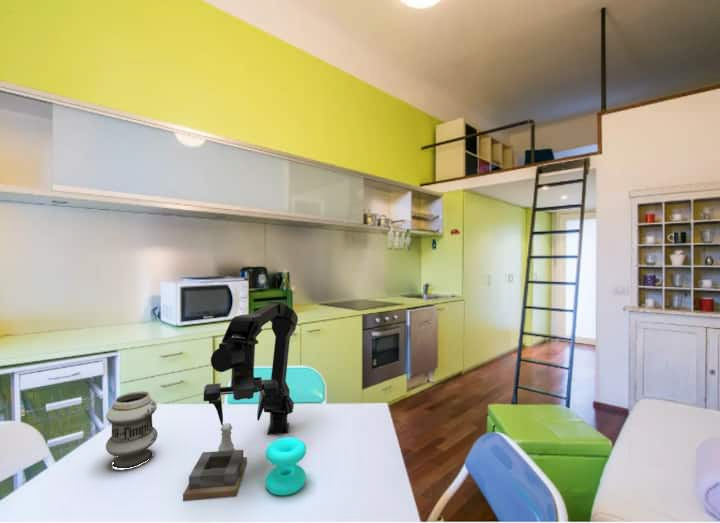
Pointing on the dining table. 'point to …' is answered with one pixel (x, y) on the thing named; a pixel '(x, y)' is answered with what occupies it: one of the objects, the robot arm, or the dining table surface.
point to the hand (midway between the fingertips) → (240, 422)
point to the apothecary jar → (131, 429)
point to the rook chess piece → (226, 438)
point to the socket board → (216, 475)
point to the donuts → (285, 466)
